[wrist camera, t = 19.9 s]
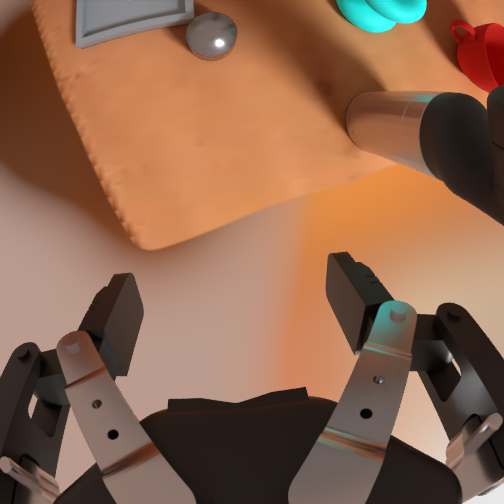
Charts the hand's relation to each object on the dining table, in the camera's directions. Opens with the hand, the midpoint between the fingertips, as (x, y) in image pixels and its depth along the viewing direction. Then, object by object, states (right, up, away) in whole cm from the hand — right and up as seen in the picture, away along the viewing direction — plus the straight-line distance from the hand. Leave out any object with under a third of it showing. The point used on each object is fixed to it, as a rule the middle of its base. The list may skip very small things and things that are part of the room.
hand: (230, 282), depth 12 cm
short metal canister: (-4, +28, +19) cm, 34 cm away
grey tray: (-15, +37, +13) cm, 42 cm away
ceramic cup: (+37, +36, +20) cm, 55 cm away
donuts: (+17, +37, +17) cm, 44 cm away
